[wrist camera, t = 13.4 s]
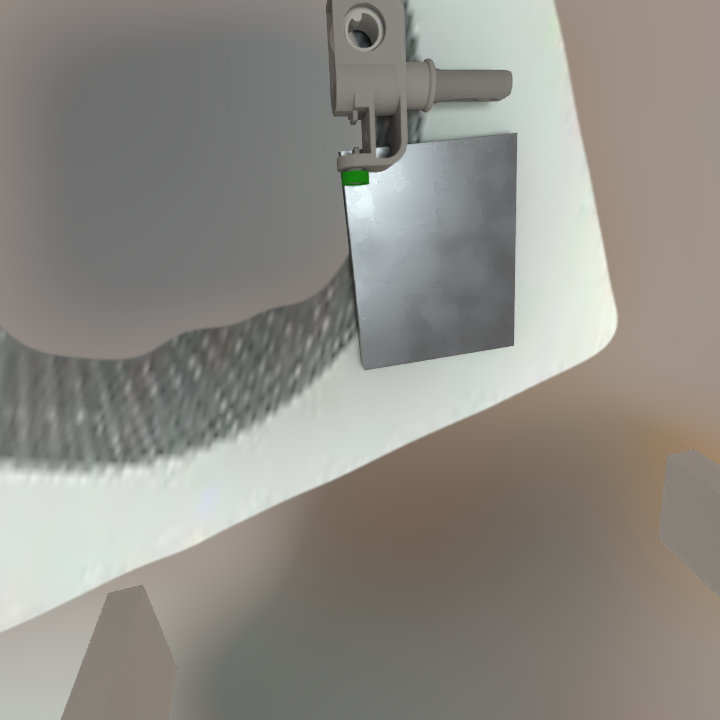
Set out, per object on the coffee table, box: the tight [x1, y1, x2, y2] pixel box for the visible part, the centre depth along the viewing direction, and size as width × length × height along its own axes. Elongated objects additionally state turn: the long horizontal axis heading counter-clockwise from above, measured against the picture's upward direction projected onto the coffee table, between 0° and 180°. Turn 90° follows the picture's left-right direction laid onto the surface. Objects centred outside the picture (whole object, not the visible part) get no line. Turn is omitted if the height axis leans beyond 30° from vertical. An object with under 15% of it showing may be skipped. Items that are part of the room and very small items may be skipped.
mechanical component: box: [326, 0, 512, 186], centre depth 28 cm, size 3×10×10 cm
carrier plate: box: [339, 133, 517, 370], centre depth 33 cm, size 14×11×1 cm
